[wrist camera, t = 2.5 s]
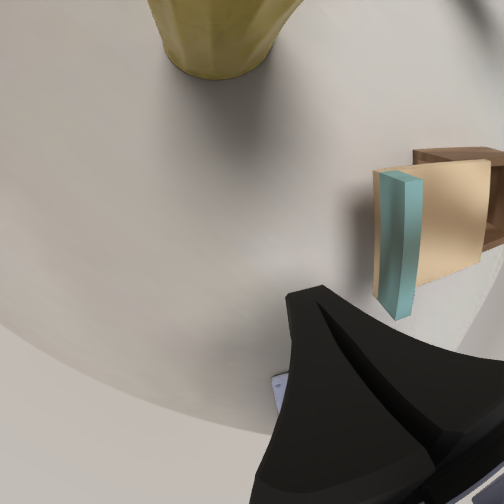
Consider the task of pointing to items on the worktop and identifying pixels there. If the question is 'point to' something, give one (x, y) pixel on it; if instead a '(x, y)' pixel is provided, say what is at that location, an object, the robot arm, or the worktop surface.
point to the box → (500, 196)
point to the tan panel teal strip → (426, 226)
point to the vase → (219, 33)
